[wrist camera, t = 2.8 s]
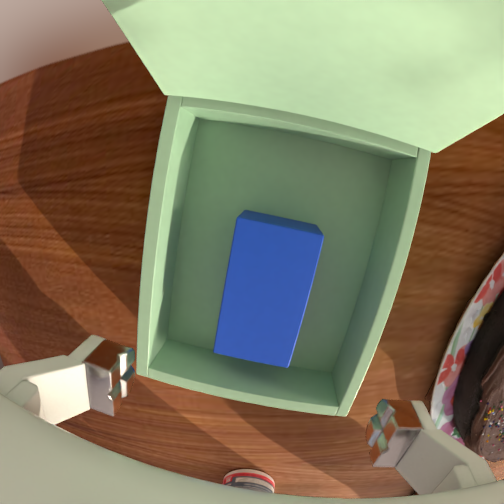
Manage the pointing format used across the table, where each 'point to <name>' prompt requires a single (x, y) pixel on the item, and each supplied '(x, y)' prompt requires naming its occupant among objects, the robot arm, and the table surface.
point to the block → (267, 287)
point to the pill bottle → (250, 480)
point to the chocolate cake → (475, 373)
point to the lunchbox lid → (332, 59)
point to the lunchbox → (282, 205)
